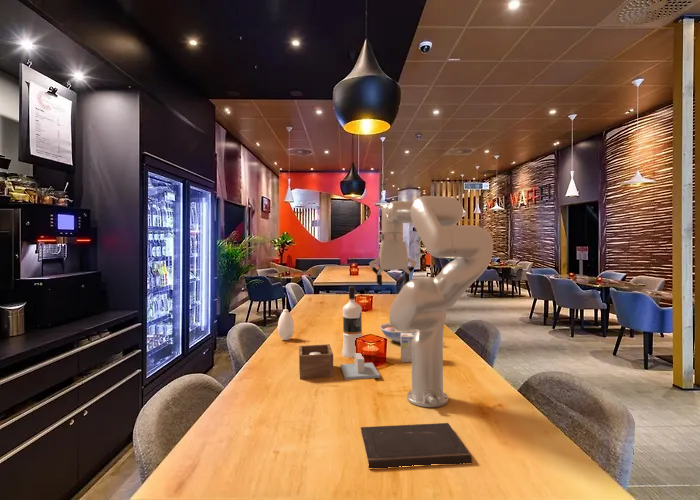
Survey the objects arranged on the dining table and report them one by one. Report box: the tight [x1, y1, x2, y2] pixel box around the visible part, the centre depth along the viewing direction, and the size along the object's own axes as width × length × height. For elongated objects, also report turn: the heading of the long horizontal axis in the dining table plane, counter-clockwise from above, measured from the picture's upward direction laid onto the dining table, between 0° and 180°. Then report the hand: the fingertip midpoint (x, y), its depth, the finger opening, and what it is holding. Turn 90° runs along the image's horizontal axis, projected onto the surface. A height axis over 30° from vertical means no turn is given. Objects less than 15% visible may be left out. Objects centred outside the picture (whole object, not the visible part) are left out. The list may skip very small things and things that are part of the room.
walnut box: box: [298, 343, 335, 380], centre depth 147 cm, size 14×12×9 cm
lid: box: [339, 353, 381, 381], centre depth 147 cm, size 15×13×7 cm
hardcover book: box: [360, 422, 473, 469], centre depth 94 cm, size 16×23×2 cm
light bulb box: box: [400, 333, 415, 363], centre depth 163 cm, size 11×7×11 cm, turn 84°
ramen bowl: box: [379, 322, 417, 344], centre depth 193 cm, size 25×23×8 cm
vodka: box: [341, 286, 363, 358], centre depth 169 cm, size 9×9×30 cm
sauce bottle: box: [277, 304, 295, 341], centre depth 199 cm, size 8×8×18 cm
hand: (393, 285), depth 143 cm, fingers open, 9 cm apart
